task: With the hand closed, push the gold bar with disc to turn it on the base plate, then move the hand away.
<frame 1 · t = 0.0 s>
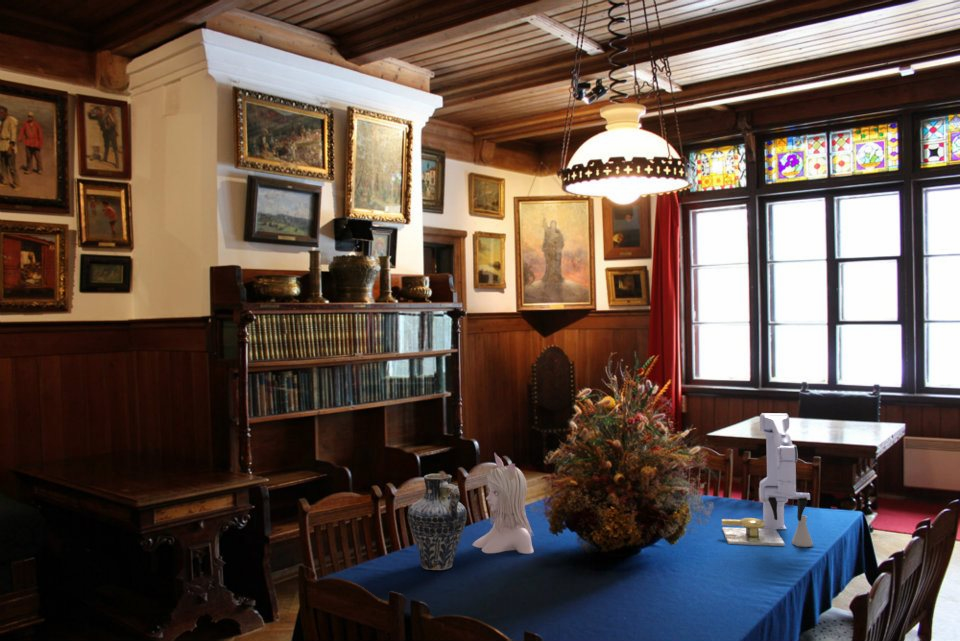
hand: (787, 519, 271), 10 cm above the table, fingers open, 7 cm apart
base plate: (752, 537, 284), on the table
flask: (802, 545, 275), on the table
gold bar with disc: (743, 526, 285), point 4 cm above the table, hinge at 0.0°
jug: (439, 567, 258), on the table
figurine bust: (503, 545, 281), on the table
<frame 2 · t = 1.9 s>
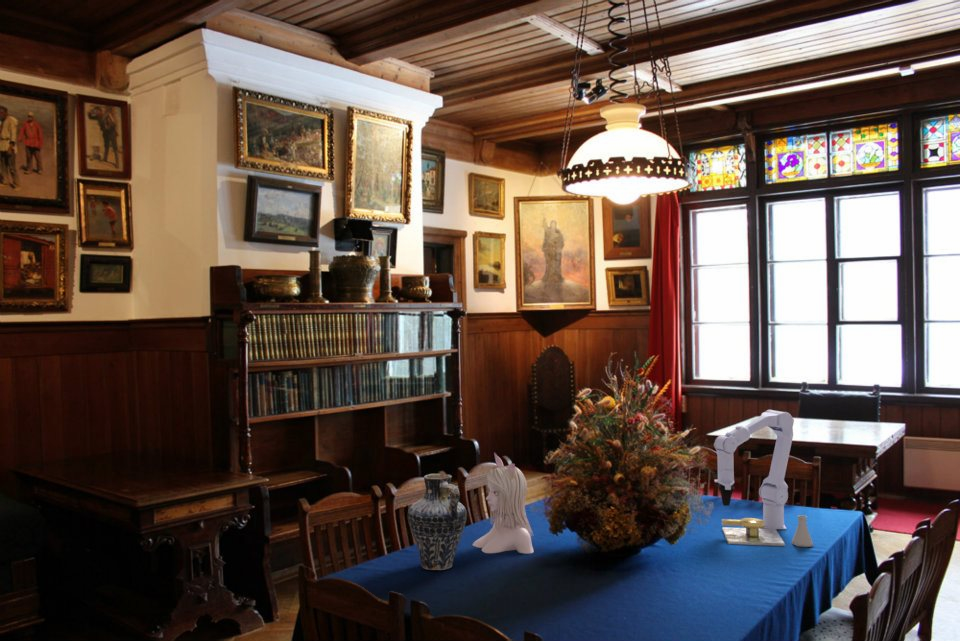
hand: (726, 505, 291), 10 cm above the table, fingers closed
nothing on the table moved.
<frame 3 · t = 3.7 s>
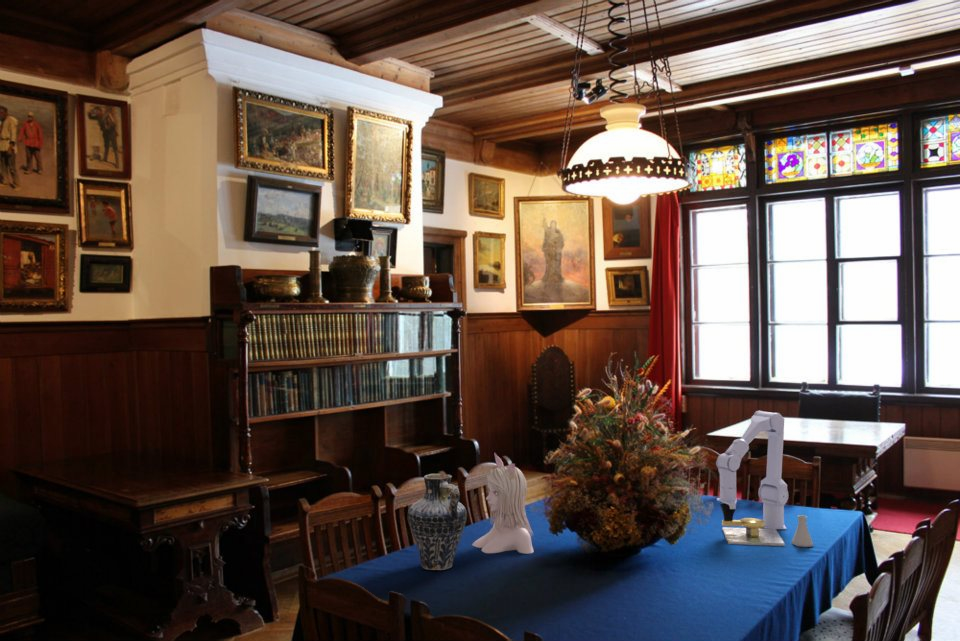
hand: (728, 524, 287), 4 cm above the table, fingers closed, pressing on gold bar with disc
gold bar with disc: (743, 527, 285), point 4 cm above the table, hinge at 4.9°, touching gripper
everything else where it was.
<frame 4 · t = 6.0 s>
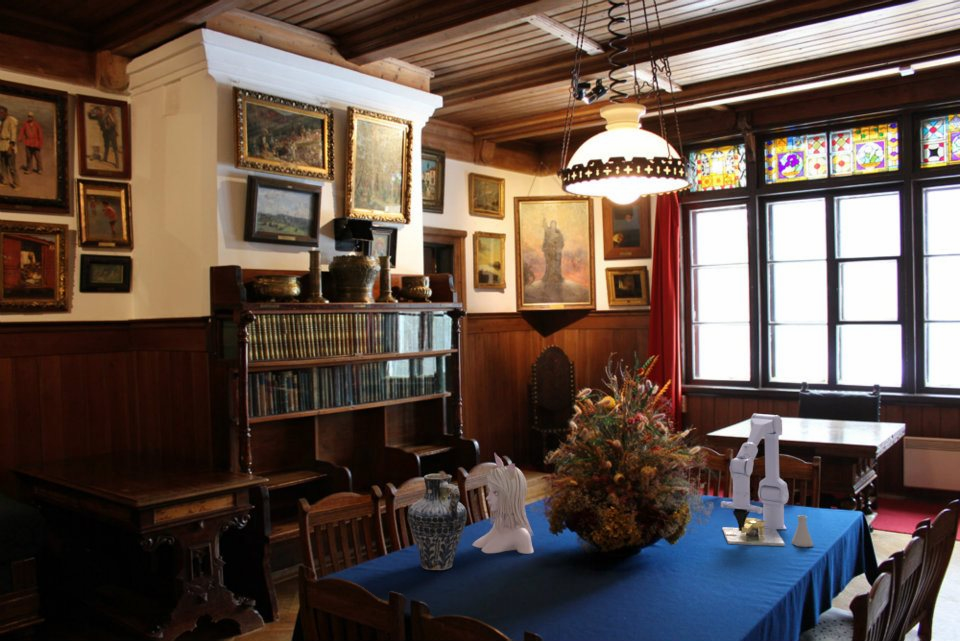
hand: (741, 530, 278), 4 cm above the table, fingers closed, pressing on gold bar with disc
gold bar with disc: (750, 529, 282), point 4 cm above the table, hinge at 69.0°, touching gripper
everything else where it was.
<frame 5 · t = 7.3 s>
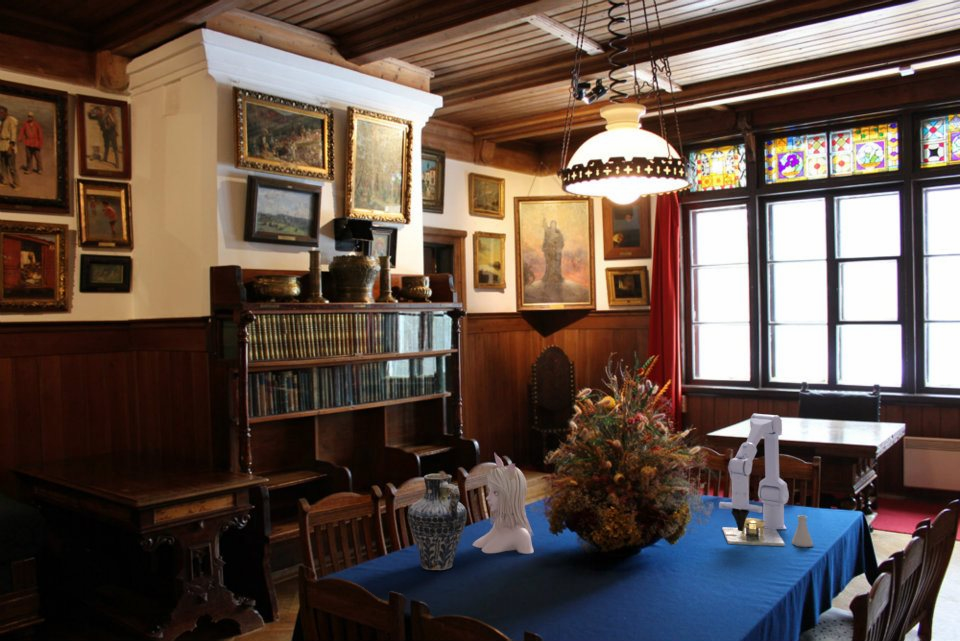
hand: (740, 530, 278), 4 cm above the table, fingers closed
gold bar with disc: (752, 529, 281), point 4 cm above the table, hinge at 83.0°
everything else where it was.
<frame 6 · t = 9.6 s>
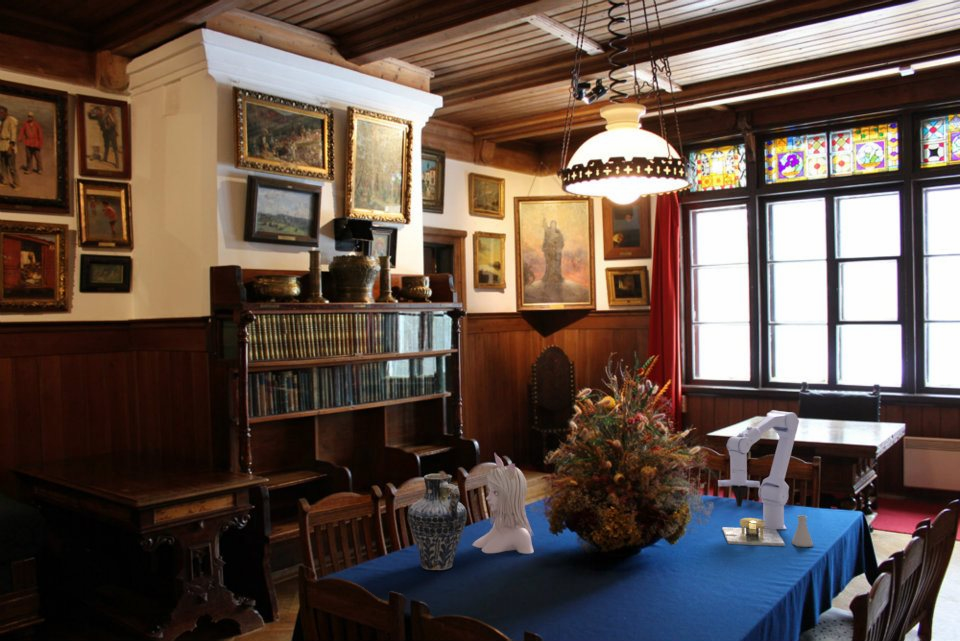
hand: (739, 506, 289), 10 cm above the table, fingers closed
nothing on the table moved.
at the end: gold bar with disc at +83° (first picture: +0°); flask moved 0.3 cm from its start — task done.
